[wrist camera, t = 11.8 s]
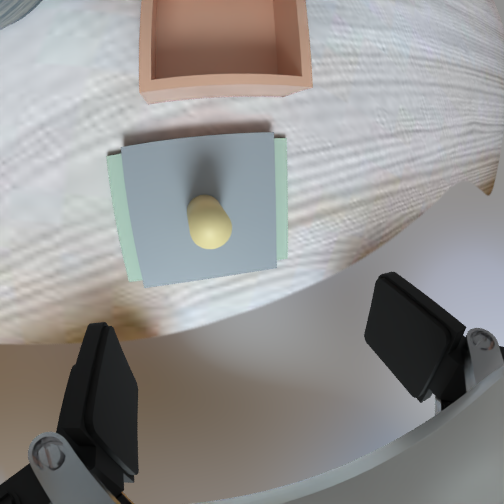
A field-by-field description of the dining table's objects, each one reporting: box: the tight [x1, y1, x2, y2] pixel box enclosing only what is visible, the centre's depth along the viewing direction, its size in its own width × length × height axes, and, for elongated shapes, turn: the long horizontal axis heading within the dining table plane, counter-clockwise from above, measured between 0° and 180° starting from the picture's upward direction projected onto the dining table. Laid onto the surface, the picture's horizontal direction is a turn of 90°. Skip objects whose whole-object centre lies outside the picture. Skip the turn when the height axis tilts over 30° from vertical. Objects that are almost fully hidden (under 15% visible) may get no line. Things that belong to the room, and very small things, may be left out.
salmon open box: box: [139, 0, 313, 104], centre depth 16 cm, size 12×12×6 cm
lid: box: [121, 132, 277, 288], centre depth 22 cm, size 13×13×6 cm
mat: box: [106, 138, 288, 282], centre depth 25 cm, size 16×12×1 cm
